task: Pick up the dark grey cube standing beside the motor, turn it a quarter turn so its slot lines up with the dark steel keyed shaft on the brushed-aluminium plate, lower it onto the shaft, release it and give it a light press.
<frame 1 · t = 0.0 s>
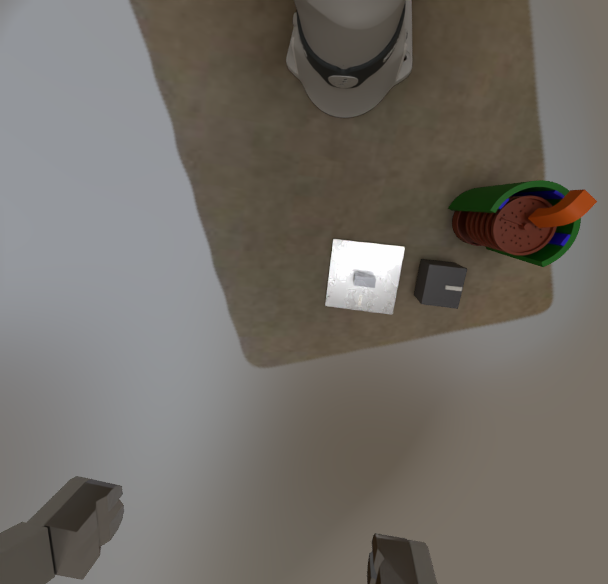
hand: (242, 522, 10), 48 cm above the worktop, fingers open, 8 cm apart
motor: (478, 217, 51), on the worktop
dark grey cube: (433, 279, 54), on the worktop
shaft plate: (363, 276, 56), on the worktop
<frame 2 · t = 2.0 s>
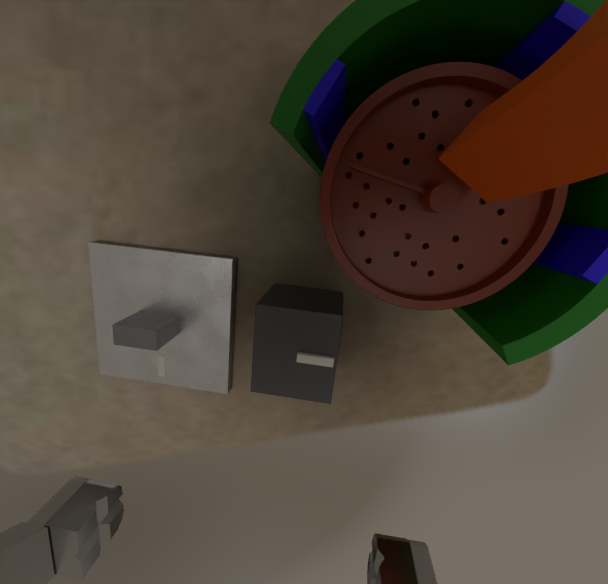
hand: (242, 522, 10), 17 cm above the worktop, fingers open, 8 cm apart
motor: (386, 193, 23), on the worktop
dark grey cube: (304, 325, 26), on the worktop
shaft plate: (167, 317, 27), on the worktop
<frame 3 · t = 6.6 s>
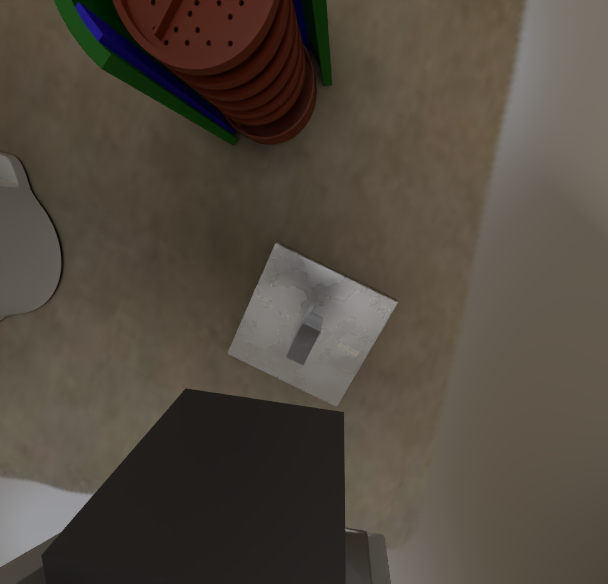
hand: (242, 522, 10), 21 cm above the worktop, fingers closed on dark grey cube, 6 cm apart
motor: (265, 88, 26), on the worktop
dark grey cube: (258, 474, 12), point 19 cm above the worktop, touching gripper
shaft plate: (308, 325, 30), on the worktop
when the fingers open (4 cm above the worktop, at t = 9.8 s): dark grey cube stays where it is, resting on shaft plate.
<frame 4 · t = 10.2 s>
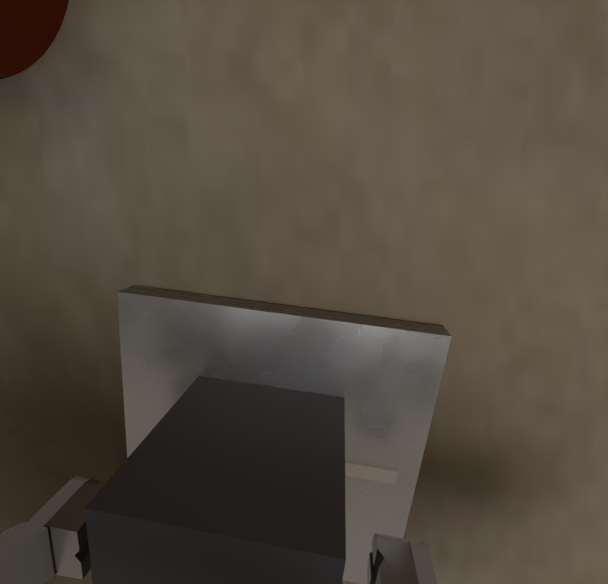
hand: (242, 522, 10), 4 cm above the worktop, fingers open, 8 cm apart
dark grey cube: (265, 456, 13), point 1 cm above the worktop, touching shaft plate
shaft plate: (270, 436, 14), on the worktop
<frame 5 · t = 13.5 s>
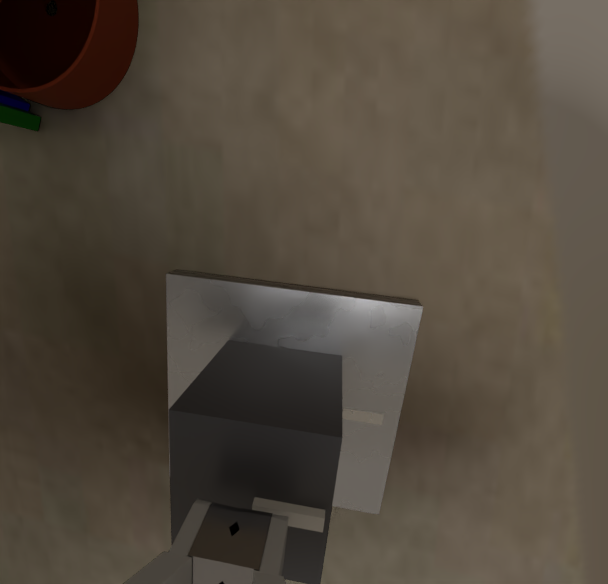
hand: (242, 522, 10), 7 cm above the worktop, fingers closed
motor: (46, 5, 14), on the worktop
dark grey cube: (279, 404, 16), point 1 cm above the worktop, touching shaft plate
shaft plate: (283, 391, 17), on the worktop
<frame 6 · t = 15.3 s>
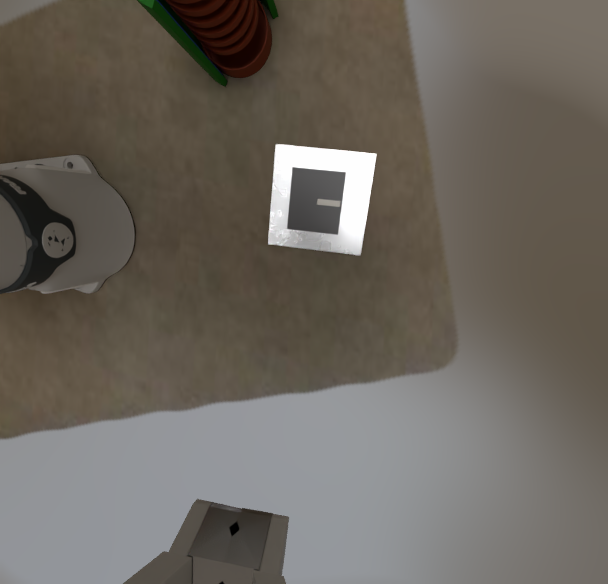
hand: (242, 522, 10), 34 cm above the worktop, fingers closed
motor: (235, 38, 36), on the worktop
dark grey cube: (319, 202, 39), point 1 cm above the worktop, touching shaft plate
shaft plate: (319, 201, 40), on the worktop
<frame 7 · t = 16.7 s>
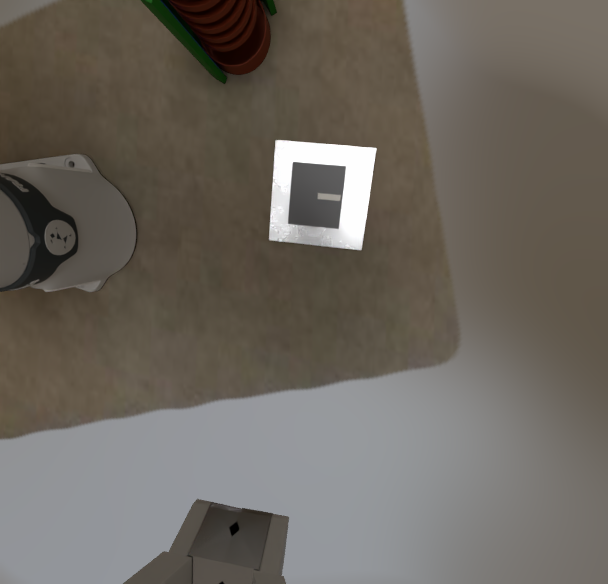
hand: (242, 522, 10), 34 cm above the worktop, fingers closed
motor: (234, 35, 37), on the worktop
dark grey cube: (319, 197, 39), point 1 cm above the worktop, touching shaft plate
shaft plate: (320, 196, 40), on the worktop
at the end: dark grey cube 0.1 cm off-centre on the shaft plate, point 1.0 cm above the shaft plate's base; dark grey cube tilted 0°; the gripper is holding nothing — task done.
